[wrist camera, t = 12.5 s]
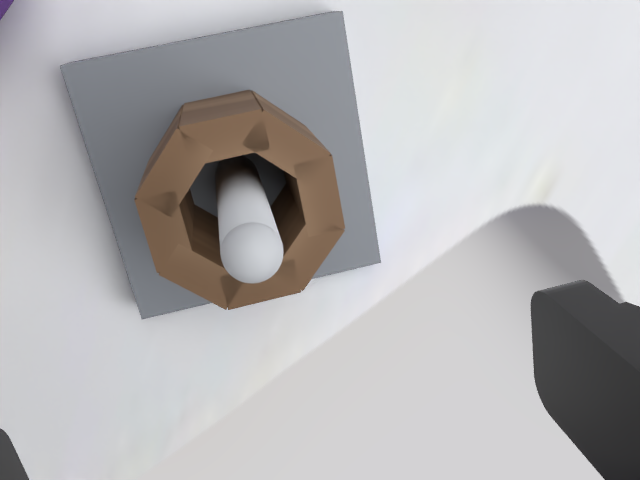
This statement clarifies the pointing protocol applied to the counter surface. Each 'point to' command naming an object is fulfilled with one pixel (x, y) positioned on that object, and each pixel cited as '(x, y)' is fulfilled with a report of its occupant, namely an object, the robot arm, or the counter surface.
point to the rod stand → (233, 173)
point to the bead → (202, 227)
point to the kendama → (4, 6)
